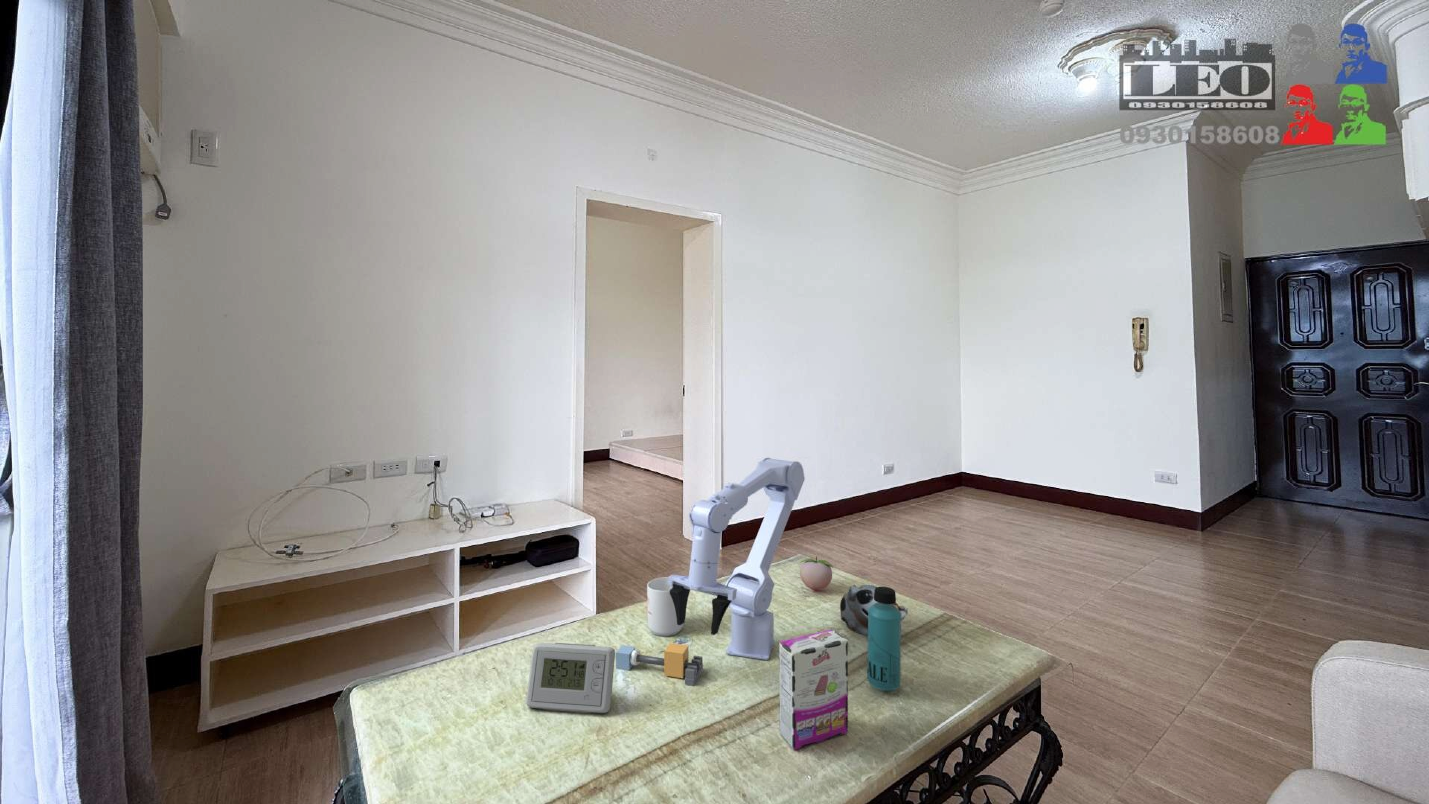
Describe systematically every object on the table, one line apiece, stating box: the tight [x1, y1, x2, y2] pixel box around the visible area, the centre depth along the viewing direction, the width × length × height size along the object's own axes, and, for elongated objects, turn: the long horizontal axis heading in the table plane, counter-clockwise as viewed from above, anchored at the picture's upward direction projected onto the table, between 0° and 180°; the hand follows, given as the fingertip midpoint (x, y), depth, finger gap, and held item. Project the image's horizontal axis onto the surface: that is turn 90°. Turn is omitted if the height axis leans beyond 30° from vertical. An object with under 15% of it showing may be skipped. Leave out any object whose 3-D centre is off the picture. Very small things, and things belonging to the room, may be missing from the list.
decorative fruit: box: [799, 556, 834, 592], centre depth 152 cm, size 9×8×10 cm
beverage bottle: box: [866, 586, 902, 691], centre depth 104 cm, size 6×7×20 cm
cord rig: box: [615, 644, 704, 686], centre depth 111 cm, size 18×6×3 cm, turn 74°
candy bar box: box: [778, 628, 849, 751], centre depth 91 cm, size 11×5×16 cm, turn 114°
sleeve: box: [663, 642, 689, 679], centre depth 110 cm, size 4×4×5 cm
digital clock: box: [525, 642, 616, 714], centre depth 100 cm, size 16×9×11 cm, turn 72°
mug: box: [646, 576, 685, 637], centre depth 131 cm, size 12×9×11 cm
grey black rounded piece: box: [839, 584, 909, 636], centre depth 129 cm, size 15×12×14 cm
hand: (697, 628), depth 108 cm, fingers open, 7 cm apart
